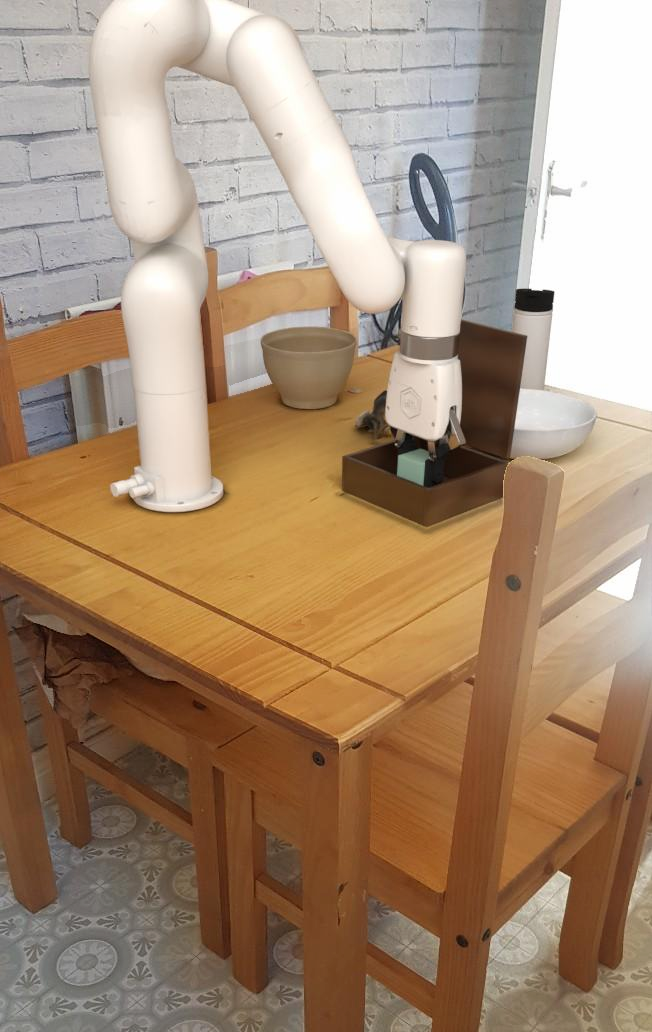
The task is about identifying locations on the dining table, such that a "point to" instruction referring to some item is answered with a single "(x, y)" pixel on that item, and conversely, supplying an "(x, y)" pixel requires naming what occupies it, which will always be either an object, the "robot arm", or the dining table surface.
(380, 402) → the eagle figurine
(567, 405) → the serving bowl
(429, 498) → the box
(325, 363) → the planter bowl
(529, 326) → the travel mug
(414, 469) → the block
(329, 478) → the dining table surface
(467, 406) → the lid
